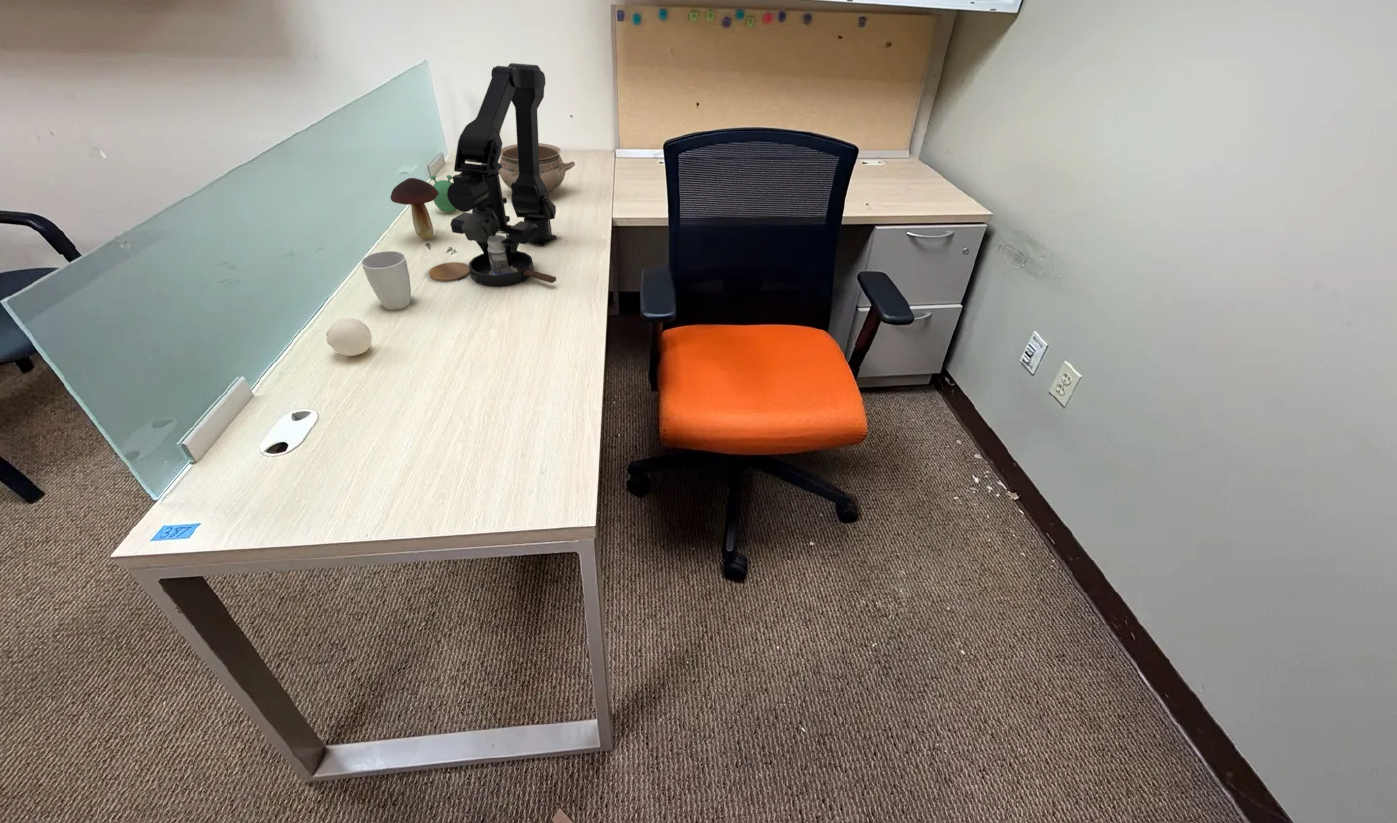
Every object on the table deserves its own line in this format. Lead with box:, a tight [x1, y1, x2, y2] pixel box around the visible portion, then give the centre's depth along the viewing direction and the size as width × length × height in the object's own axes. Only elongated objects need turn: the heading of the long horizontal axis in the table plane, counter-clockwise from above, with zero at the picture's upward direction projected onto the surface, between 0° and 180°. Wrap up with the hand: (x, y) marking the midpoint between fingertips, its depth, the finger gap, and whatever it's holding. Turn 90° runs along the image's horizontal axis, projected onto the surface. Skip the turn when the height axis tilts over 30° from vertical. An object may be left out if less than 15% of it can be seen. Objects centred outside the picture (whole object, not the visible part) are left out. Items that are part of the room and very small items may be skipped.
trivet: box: [428, 261, 471, 282], centre depth 138 cm, size 9×9×1 cm
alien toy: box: [430, 174, 457, 213], centre depth 164 cm, size 7×8×10 cm
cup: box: [360, 250, 412, 311], centre depth 123 cm, size 8×8×10 cm
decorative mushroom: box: [389, 177, 439, 240], centre depth 148 cm, size 11×11×15 cm
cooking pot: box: [498, 142, 576, 194], centre depth 177 cm, size 25×19×12 cm
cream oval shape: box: [325, 317, 372, 357], centre depth 109 cm, size 7×7×7 cm
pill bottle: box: [487, 234, 514, 275], centre depth 136 cm, size 5×5×8 cm
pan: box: [468, 250, 557, 288], centre depth 137 cm, size 14×22×3 cm, turn 63°
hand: (501, 263), depth 137 cm, fingers closed on pill bottle, 5 cm apart
